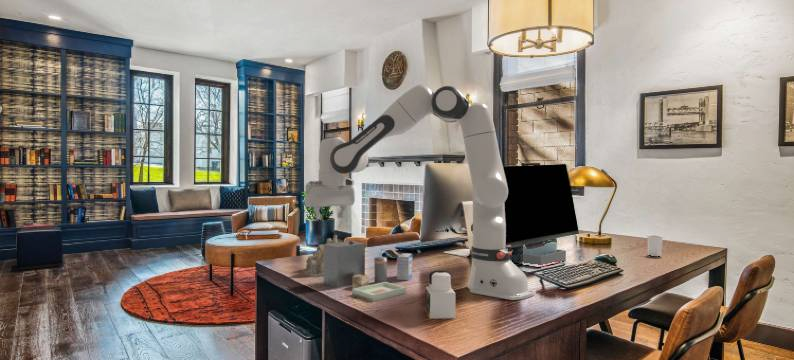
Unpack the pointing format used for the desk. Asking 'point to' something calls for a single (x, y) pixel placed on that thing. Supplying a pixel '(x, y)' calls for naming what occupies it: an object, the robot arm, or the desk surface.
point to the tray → (378, 291)
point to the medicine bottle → (440, 296)
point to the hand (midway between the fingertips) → (330, 218)
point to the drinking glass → (654, 245)
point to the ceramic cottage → (317, 260)
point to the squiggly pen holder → (541, 249)
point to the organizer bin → (545, 258)
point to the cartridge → (380, 270)
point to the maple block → (360, 281)
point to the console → (343, 263)
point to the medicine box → (404, 266)
